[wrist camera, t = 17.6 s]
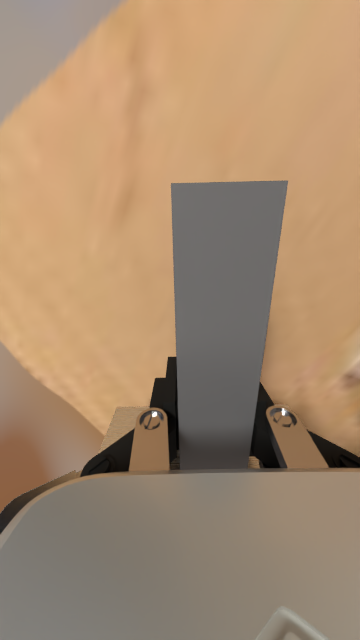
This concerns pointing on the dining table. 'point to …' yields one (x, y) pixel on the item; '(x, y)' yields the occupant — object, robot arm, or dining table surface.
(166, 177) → the dining table surface
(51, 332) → the dining table surface
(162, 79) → the dining table surface
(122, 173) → the dining table surface
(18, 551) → the robot arm
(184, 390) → the grey t-shaped block
